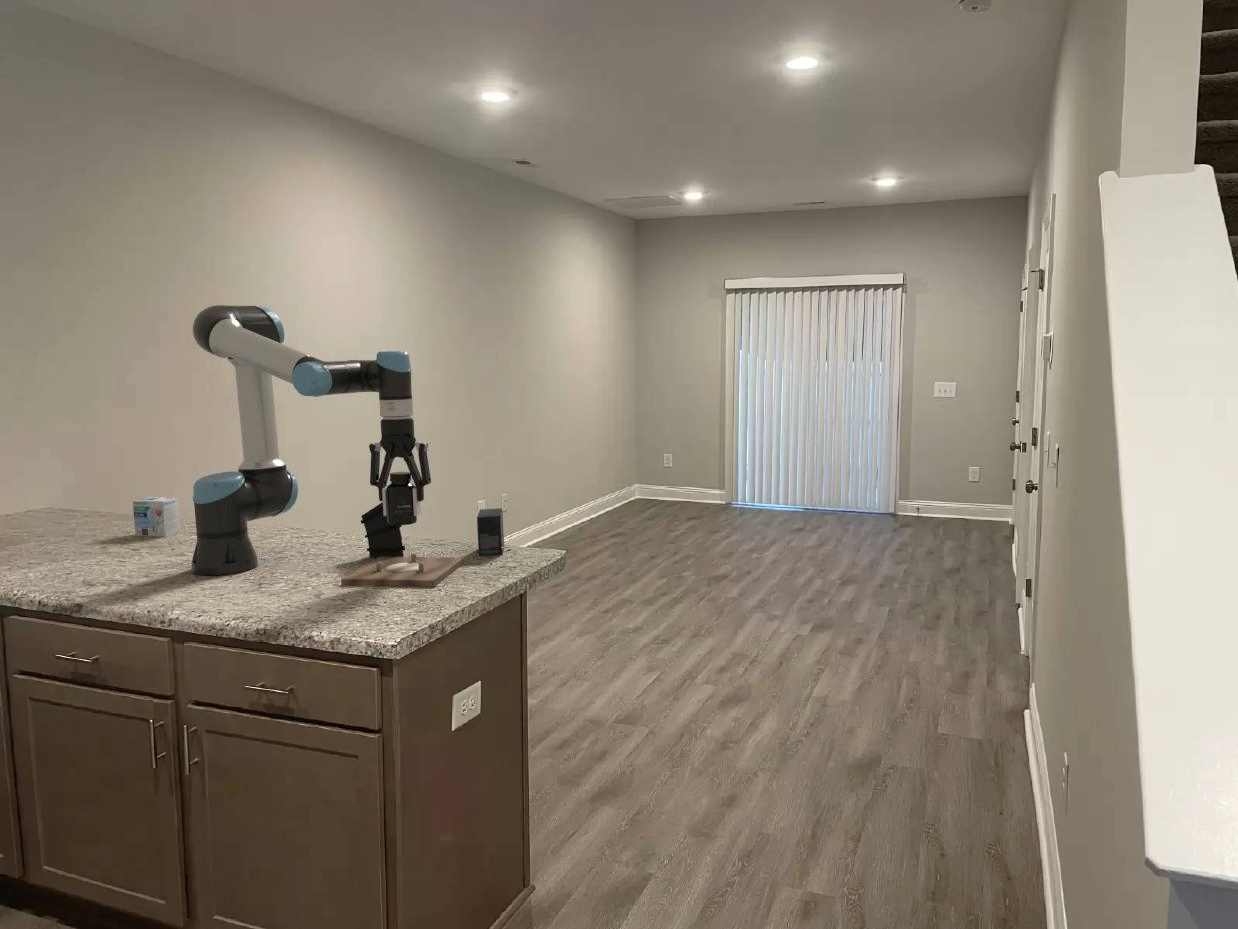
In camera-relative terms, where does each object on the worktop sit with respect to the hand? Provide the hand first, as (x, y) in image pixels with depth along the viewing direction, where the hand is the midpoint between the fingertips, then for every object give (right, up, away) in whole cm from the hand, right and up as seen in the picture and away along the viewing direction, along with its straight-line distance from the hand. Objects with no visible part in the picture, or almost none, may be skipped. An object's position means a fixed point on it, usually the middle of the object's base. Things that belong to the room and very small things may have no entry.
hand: (402, 514), depth 218 cm
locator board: (0, -14, +2) cm, 14 cm away
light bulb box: (-86, -9, +57) cm, 103 cm away
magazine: (-9, -12, +19) cm, 25 cm away
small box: (+18, -11, +24) cm, 32 cm away
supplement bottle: (0, -2, 0) cm, 2 cm away
